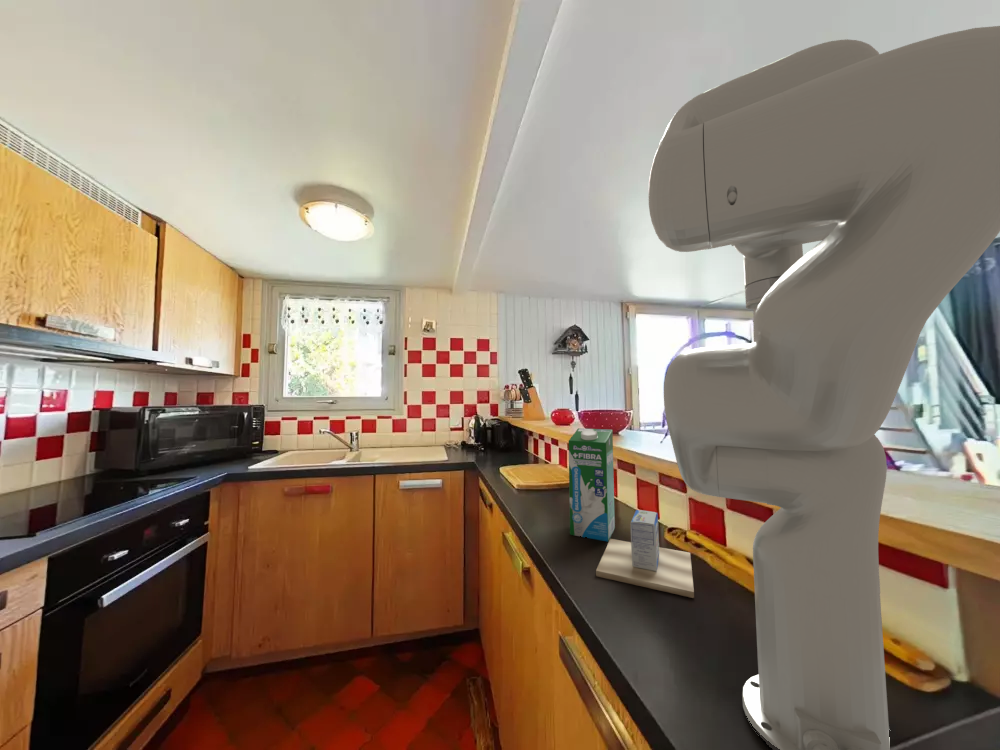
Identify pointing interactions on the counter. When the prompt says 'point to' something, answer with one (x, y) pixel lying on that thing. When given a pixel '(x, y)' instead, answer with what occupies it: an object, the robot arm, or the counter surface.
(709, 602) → the counter surface
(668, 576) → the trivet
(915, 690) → the counter surface
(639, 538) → the medicine box
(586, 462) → the milk carton
